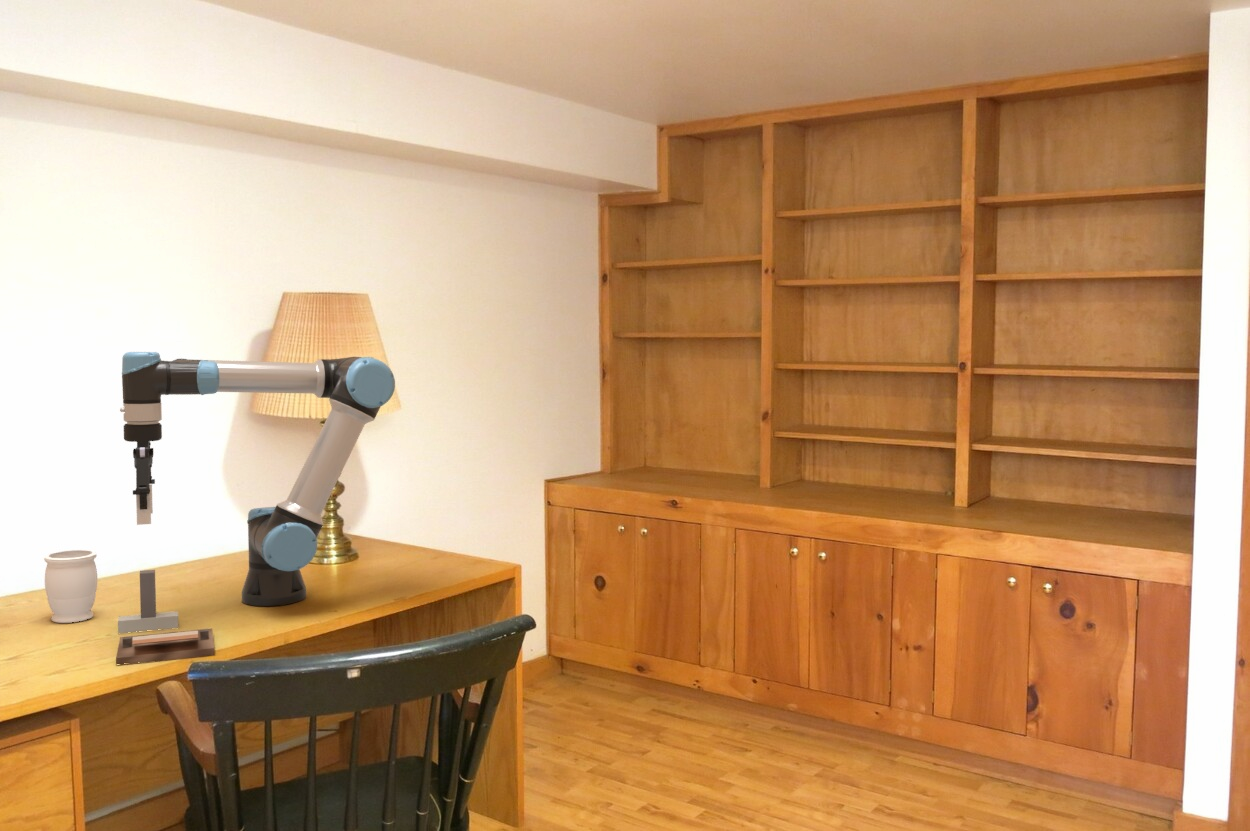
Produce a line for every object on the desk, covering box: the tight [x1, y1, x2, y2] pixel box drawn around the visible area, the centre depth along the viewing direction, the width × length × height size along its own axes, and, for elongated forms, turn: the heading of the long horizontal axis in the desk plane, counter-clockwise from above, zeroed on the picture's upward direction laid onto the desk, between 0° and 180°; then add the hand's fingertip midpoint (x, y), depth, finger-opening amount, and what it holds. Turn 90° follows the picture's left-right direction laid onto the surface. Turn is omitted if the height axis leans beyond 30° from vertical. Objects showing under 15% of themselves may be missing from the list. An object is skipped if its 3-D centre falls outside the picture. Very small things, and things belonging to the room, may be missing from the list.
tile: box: [133, 630, 198, 645], centre depth 207 cm, size 12×7×1 cm, turn 114°
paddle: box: [117, 569, 179, 635], centre depth 225 cm, size 12×4×13 cm, turn 114°
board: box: [115, 628, 215, 665], centre depth 211 cm, size 18×15×3 cm
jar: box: [43, 549, 98, 624], centre depth 232 cm, size 11×10×15 cm
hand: (145, 518), depth 223 cm, fingers open, 13 cm apart
